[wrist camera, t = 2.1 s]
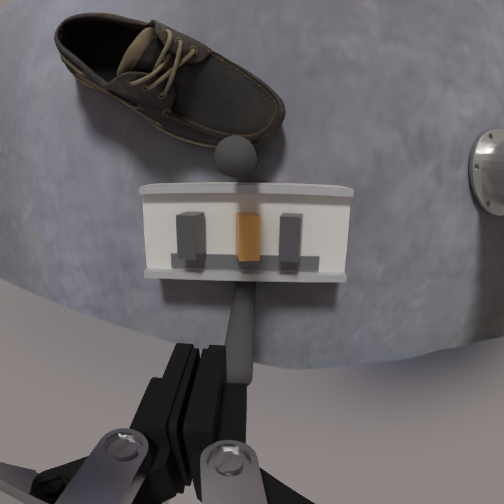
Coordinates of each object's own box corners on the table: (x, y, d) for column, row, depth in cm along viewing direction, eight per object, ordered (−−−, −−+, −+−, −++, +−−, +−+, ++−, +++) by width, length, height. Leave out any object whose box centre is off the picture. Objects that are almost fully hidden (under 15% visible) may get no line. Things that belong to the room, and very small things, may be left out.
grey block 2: (303, 213, 32) (301, 217, 29) (300, 255, 33) (298, 262, 30) (283, 212, 32) (280, 216, 30) (281, 254, 33) (278, 260, 31)
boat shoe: (256, 174, 35) (255, 177, 25) (61, 94, 32) (11, 81, 22) (297, 92, 33) (312, 65, 22) (96, 24, 30) (56, -4, 19)
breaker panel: (341, 185, 35) (353, 189, 30) (335, 267, 38) (345, 282, 33) (154, 183, 36) (139, 186, 31) (157, 264, 38) (144, 277, 33)
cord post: (255, 276, 38) (252, 364, 21) (255, 294, 39) (252, 389, 22) (235, 276, 38) (218, 363, 21) (235, 294, 39) (219, 388, 22)
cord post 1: (257, 150, 34) (256, 135, 17) (257, 171, 35) (255, 177, 18) (236, 150, 34) (214, 135, 17) (236, 171, 35) (213, 176, 18)
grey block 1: (204, 212, 32) (194, 215, 29) (205, 253, 33) (195, 260, 31) (186, 211, 32) (175, 215, 30) (187, 252, 33) (177, 258, 31)
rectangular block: (255, 211, 32) (260, 215, 30) (254, 253, 33) (259, 260, 31) (235, 212, 32) (239, 216, 29) (235, 254, 33) (239, 261, 30)
